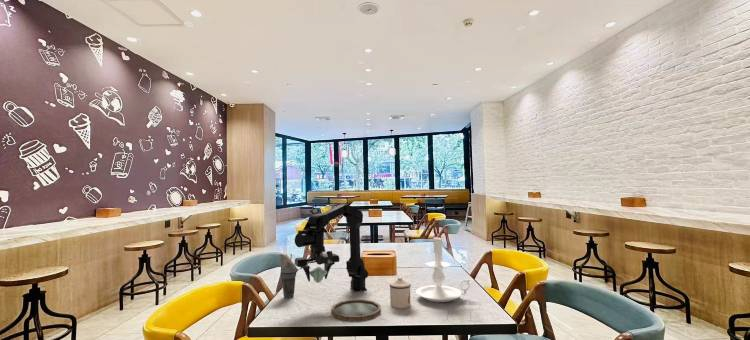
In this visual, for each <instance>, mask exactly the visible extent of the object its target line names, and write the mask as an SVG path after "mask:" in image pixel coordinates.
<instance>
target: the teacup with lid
mask: <svg viewBox="0 0 750 340" xmlns="http://www.w3.org/2000/svg"><path fill="white" fill-rule="evenodd" d="M389 291H390V293H389V297H390V298H389V299H390V300H389V301H390V302H389V303H390V306H391V307H392V308H394V309H406V308H409V307H411V283H410V282H409V281H406V280H405V279H403V277H400V276H399V277H397V279H395V280H394V281H391V282H390V283H389Z"/></svg>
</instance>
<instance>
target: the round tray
mask: <svg viewBox="0 0 750 340" xmlns="http://www.w3.org/2000/svg"><path fill="white" fill-rule="evenodd" d="M381 306H382V305H381V304H379V303H378V302H376V301H374V300H368V299H363V298H361V299H359V298H358V299H347V300H342V301H339V302H337V303H336V304H335V303H334V304H333V305H332V307H331V309H330V314H331V315H332V316H333V317H334V318H335V319H337V320H342V321H345V322H360V321H361V322H362V320H363V321H367V320H366V319H368V320H371V319H374V318H377V317H378V316H379V315H380V314H382V313H381V312H382V310H381Z"/></svg>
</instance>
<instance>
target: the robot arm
mask: <svg viewBox="0 0 750 340" xmlns="http://www.w3.org/2000/svg"><path fill="white" fill-rule="evenodd" d="M340 216H343V217H345V222H346V224H347V226H348V228H349V250H350V251H349V253H350V257H349V259H348V260H346V261H345V262H346V263H345V264H346V265H345V266H346V268H345V270H346V272H347V274H348V277H349V278H350V279H351V280H350V287H349V289H350V290H352V292H353V291H354V292H355V293H357V292H362V291H363V292H364V291H367V290H368V288H366V279H367V278H368V277H369V271H368V270H367V269H366V268H365V262H364V261H363V258H362V257H361V234H360V233H361V232H360V231H361V226H362V224H363V219H364V213H363V211H362V210H360V209H357V208H355V207H353V206H351V204H349V203H340V204H339V205H338V206H335V207H332V208H330V209H329V210H326V211H325V212H321V213H315V214H311V215H309V216H308V220H307V221H306V223H305V226H304V227H303V229H302V230H297V234H296V235H295V237H294V245H295V246H296V247H298V248H303V247H308V246H309V249H310V255H309V258H306V257H304V256H302V257H295V258H294V265H295V267H296V268H297V267H298V268H302V270H303V271H304V273H305V276H306V279H307V281H308V282H311V275H310V271H311V270H310V269H311V266H310V265H309V264H313V263H316V264H317V265H319V266H320V265H324V266H323V267H324V268H323V270H326V271H327V274H326V275H325V276H324V279H325V280H327V278H328V276H329V272H330V270H331V268H332V266H333V265H335V263H339V262H340V255H338V254H336V253H333V251H332V250H329V251H328V250H327V251H326V248H325V241H324V238H325V236H324V235H325V233H328V230H327V229H326V228H325V227H326V226H327V225H329V223H330V221H332V220H334V219H336V218H338V217H340Z"/></svg>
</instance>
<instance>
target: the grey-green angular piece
mask: <svg viewBox="0 0 750 340" xmlns="http://www.w3.org/2000/svg"><path fill="white" fill-rule="evenodd" d="M309 271H310V277H312V278H313V280H314V282H315V283H317V284H319V283H321V282H322V280H323V278H325V275H326V274H327V271H326V270H324V268H322V267H321V266H316V267H315V268H314V269H312V270H309Z"/></svg>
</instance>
